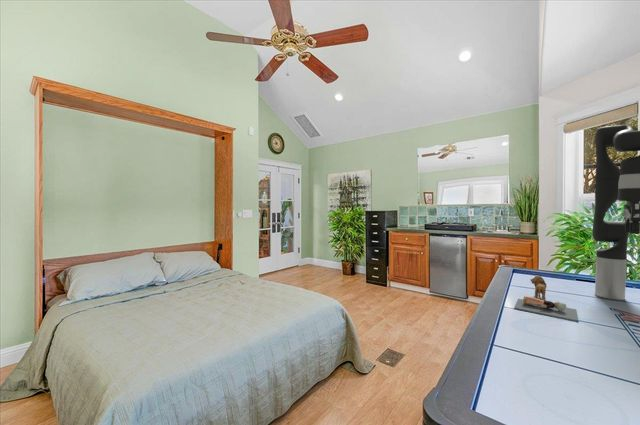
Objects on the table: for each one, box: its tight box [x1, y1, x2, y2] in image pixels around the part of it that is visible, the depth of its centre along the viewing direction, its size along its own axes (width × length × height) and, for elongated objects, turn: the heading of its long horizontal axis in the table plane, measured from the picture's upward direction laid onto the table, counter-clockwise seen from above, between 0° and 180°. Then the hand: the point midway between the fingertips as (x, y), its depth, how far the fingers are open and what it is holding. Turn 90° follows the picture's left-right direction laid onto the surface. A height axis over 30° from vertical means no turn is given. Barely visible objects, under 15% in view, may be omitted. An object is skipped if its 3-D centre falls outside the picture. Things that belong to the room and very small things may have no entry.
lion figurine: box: [529, 275, 547, 301], centre depth 118 cm, size 15×5×9 cm, turn 151°
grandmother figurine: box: [522, 295, 567, 311], centre depth 106 cm, size 8×4×13 cm
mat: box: [513, 298, 579, 323], centre depth 106 cm, size 14×18×1 cm
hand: (631, 233), depth 99 cm, fingers open, 8 cm apart
